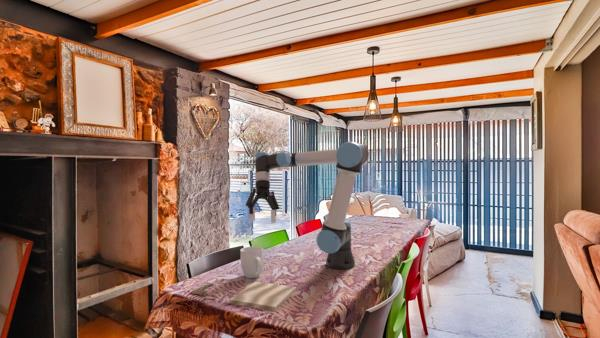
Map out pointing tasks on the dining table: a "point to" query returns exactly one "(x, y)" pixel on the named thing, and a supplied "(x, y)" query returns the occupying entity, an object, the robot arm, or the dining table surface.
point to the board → (263, 295)
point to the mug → (252, 261)
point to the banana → (200, 290)
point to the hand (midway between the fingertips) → (263, 221)
